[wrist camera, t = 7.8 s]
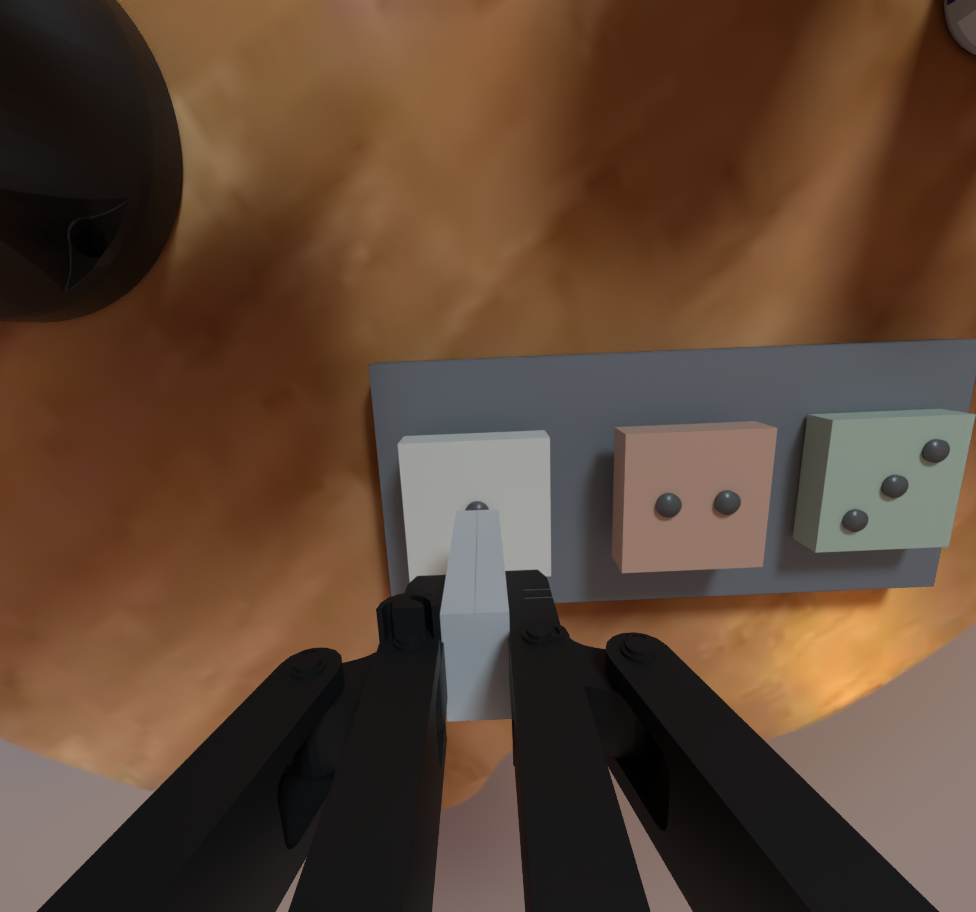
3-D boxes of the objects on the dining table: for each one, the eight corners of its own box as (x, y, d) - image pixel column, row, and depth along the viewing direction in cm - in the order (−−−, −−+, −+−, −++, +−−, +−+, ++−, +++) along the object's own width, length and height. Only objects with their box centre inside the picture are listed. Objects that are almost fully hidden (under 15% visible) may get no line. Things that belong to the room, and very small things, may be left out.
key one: (419, 549, 23) (409, 584, 20) (409, 429, 22) (396, 445, 18) (541, 543, 23) (552, 578, 20) (539, 423, 22) (550, 438, 19)
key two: (602, 541, 23) (623, 575, 20) (604, 420, 22) (627, 435, 19) (724, 536, 23) (765, 569, 20) (734, 415, 22) (780, 428, 19)
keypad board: (399, 589, 26) (392, 610, 24) (378, 362, 23) (368, 364, 21) (899, 567, 26) (933, 586, 24) (940, 338, 23) (983, 339, 21)
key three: (771, 524, 24) (818, 554, 21) (784, 408, 23) (836, 420, 20) (887, 519, 24) (953, 548, 21) (907, 403, 23) (980, 414, 20)
